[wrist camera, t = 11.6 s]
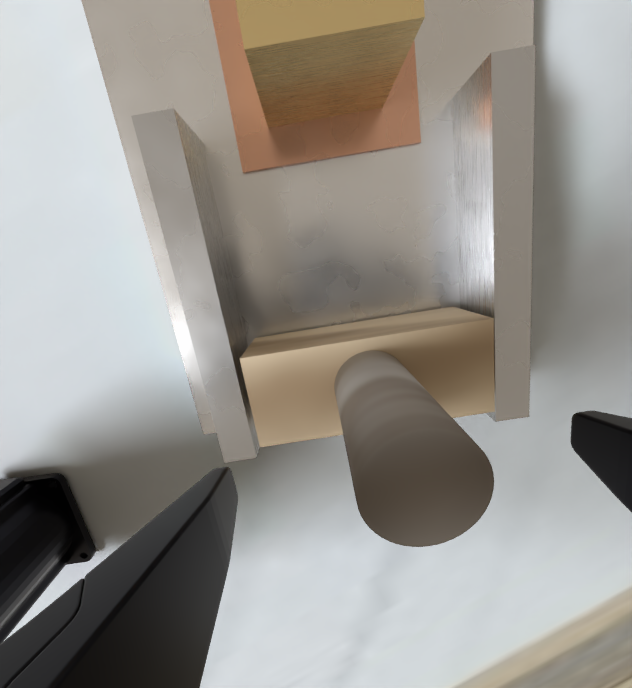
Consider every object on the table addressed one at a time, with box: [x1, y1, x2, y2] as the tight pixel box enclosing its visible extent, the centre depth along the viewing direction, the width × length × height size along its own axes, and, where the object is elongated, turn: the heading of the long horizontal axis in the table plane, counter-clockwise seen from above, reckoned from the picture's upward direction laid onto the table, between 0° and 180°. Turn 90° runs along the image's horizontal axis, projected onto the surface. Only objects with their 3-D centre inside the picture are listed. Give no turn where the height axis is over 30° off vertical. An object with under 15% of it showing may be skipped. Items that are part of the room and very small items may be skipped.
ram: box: [240, 307, 495, 547], centre depth 11 cm, size 4×10×10 cm, turn 99°
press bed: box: [82, 0, 536, 463], centre depth 13 cm, size 26×18×4 cm
